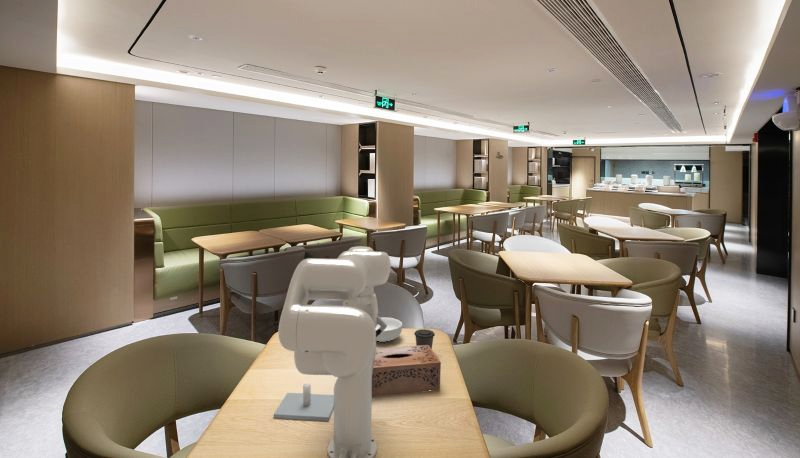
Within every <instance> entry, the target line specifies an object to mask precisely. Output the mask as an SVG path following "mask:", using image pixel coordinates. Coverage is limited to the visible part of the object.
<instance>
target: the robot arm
mask: <svg viewBox="0 0 800 458" xmlns="http://www.w3.org/2000/svg"><path fill="white" fill-rule="evenodd" d="M391 266H392V265H391V259H390V256H389V254H388V253H387V252H386V251H375V250H374V249H373V248H372V247H370V246H363V245H362V246H360V245H358V246H352V247H350V248H349V249H348V250H346V251H342V253H340V254H339V255H338V257H337V258H315V257H314V258H311V257H308V258H304V259H302V260H301V261H300V262H299V263H298V264H297V266H296V268H295V270H294V272H293V274H292V277H291V279H290V282H289V286H288V289H287V293H286V297H285V301H284V304H283V307H282V311H281V314H280V318H279V323H278V329H277V330H278V340H279V343H280V344H281V346H282V347H283V348H284V349H285V350H287V351H290V352H294V353H293V359H294V365H295V367H296V370H297V371H298V372H299V373H300V374H302V375H309V376H311V375H312V376H333V377H335V378H337V379H336V380H335V383H334V386H333V395H334V409H333V438H332V439H331V440H330V441H329V443H328V445H327V455H328V458H375V457H376V455H377V451H378V443H377V441H376V439H375V438H374V437H373V435H372V415H373V414H372V409H373V408H372V407H373V403H372V402H373V400H372V399H373V397H372V375H373V366H374V360H375V354H376V349H377V342H376V337H377V336H378V335H379V334H380V333H381V332H382V331H383V330H385V329H386V327H387V324H386V323H385V322H384V321H383V320H382V319H381V318H380V317H381V316H379V309H378V306H379V305H378V299H377V294H376V293H375V291H374V290H375V289H374V287H377V286H381V285H384V284H386V283H387V282H388V280H389V278H390V273H391ZM309 301H342V305H335V304H334V305H333V304H308V303H309ZM378 324H379V325H380V326H381V327H380V328H379V329H377V330H376V329H375V328H376V325H378Z"/></svg>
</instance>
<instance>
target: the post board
mask: <svg viewBox="0 0 800 458" xmlns="http://www.w3.org/2000/svg"><path fill="white" fill-rule="evenodd" d="M311 386H312V385H311V384H310V383H304V384H303V385H302V392H301V393H300V392H299V393H298V392H287V393H286V395H284V398H283V399H282V401H281V402H280V404H279V405H278V407H277V409H276V410H275V412H274V413H273V419H284V420H300V421H301V420H302V421H303V420H304V421H321V422H329V421H330V420H331V417H332V415H333V414H332V413H333V412H334V394H319V393H311V392H312V388H311Z"/></svg>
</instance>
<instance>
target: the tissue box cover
mask: <svg viewBox="0 0 800 458" xmlns="http://www.w3.org/2000/svg"><path fill="white" fill-rule="evenodd" d="M441 363H442V362H441V360H440V359H439V358H438V356H437V355H436V354H435V352H434V350H433V349H431V348H430V346H429V345H420V346H416V345H409V346H408V345H406V346H393V347H380V348H379V347H378V348H377V347H376V354H375V360H374V366H373V375H372V398H375V397H385V396H396V395H406V394H407V393H408V394H416V393H415V392H419V393H424V392H423V391H429V390H439V389H441V370H442V369H441V368H442V367H441V365H442V364H441ZM429 392H430V391H429ZM408 394H407V395H408Z"/></svg>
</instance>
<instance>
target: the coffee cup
mask: <svg viewBox="0 0 800 458" xmlns="http://www.w3.org/2000/svg"><path fill="white" fill-rule="evenodd" d="M413 334H414V336H415V344H416V345H415V346H420V345H429V346H430V348H431V349H432V348H433V343H434V337H435V336H436V335H435V332H434V331H433V330H430V329H421V328H420V329H417V330H416V331H415V332H414V333H413ZM432 350H433V349H432Z"/></svg>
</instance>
